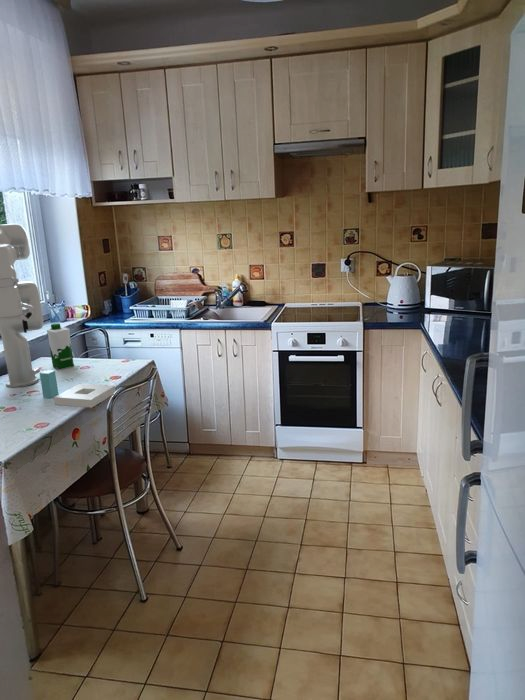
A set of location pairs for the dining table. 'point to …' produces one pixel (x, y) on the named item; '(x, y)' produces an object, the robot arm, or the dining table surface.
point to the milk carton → (60, 346)
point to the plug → (49, 384)
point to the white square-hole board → (84, 395)
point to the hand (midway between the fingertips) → (10, 334)
